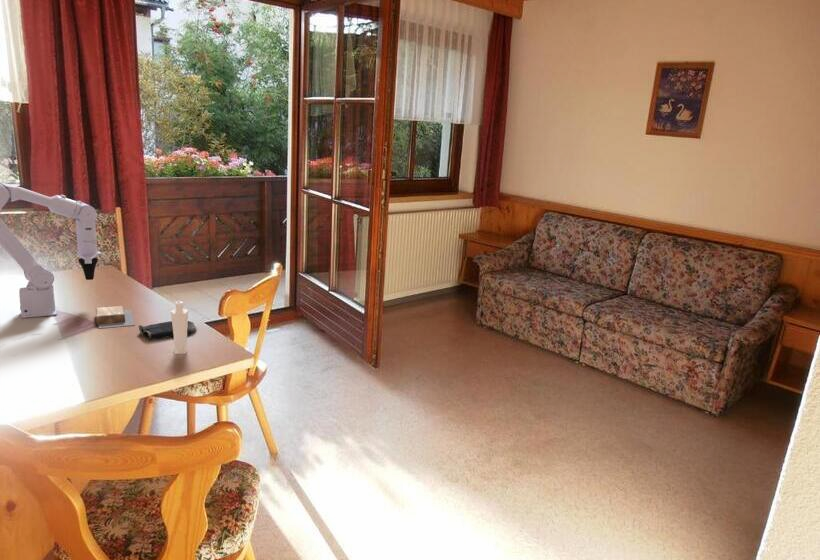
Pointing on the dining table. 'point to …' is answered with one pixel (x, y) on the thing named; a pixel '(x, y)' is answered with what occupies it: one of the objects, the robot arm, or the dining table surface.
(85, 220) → the robot arm
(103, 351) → the dining table surface
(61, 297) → the dining table surface
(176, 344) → the perfume bottle
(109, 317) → the walnut slab
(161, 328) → the electronic device
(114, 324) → the mat
